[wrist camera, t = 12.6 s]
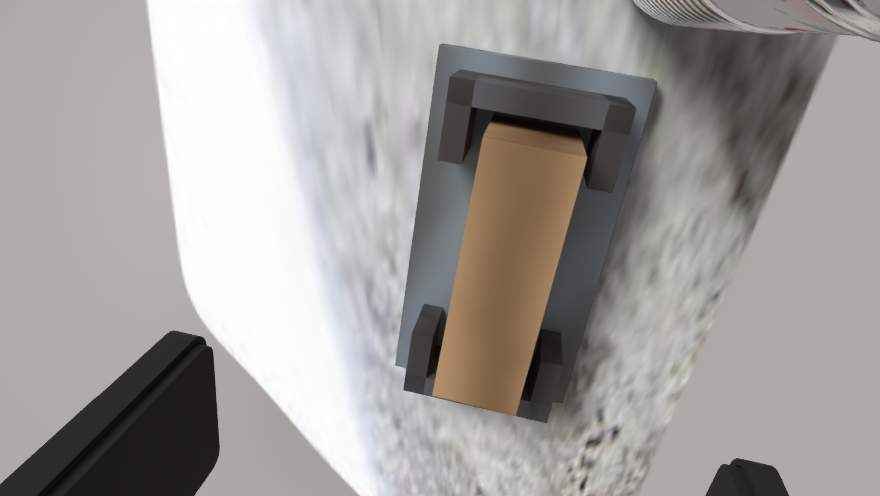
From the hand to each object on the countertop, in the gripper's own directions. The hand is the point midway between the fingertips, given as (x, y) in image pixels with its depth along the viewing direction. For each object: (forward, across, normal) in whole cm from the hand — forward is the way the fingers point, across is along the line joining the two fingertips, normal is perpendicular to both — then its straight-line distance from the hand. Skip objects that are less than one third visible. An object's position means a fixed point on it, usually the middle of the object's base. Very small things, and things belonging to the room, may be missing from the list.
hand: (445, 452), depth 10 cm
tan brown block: (+22, -1, +6) cm, 23 cm away
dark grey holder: (+23, -1, +6) cm, 24 cm away
